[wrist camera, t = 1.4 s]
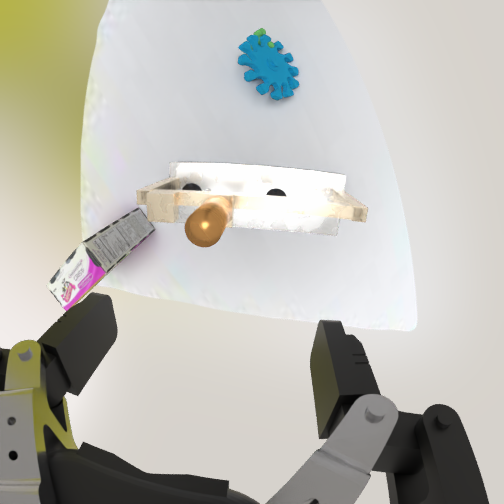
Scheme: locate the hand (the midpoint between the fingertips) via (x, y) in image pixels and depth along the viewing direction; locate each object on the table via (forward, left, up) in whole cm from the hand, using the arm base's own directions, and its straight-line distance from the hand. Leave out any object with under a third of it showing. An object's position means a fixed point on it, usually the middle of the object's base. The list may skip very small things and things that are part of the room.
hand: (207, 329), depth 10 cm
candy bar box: (+9, -21, -32) cm, 40 cm away
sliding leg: (0, -3, -30) cm, 30 cm away
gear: (-18, +1, -33) cm, 37 cm away
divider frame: (+1, 0, -32) cm, 32 cm away
